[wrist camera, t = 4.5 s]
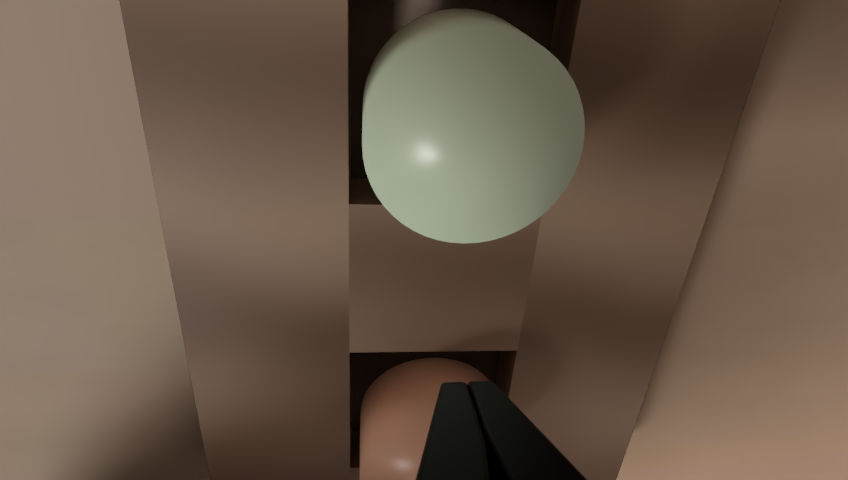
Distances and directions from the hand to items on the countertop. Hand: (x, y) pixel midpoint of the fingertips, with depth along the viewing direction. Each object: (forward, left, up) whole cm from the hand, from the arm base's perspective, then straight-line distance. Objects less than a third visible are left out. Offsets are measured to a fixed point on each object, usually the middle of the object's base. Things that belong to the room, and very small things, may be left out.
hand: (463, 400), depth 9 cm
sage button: (+3, 0, -5) cm, 6 cm away
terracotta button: (-6, 0, -5) cm, 8 cm away
